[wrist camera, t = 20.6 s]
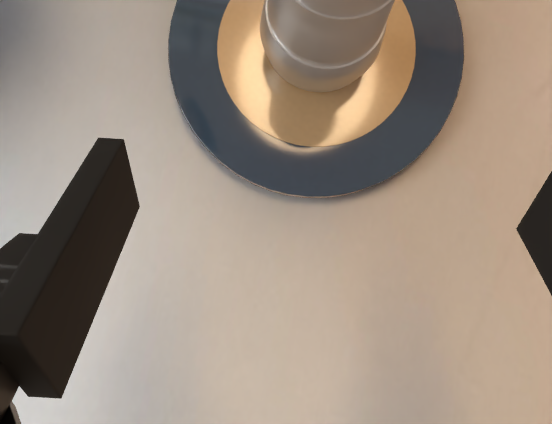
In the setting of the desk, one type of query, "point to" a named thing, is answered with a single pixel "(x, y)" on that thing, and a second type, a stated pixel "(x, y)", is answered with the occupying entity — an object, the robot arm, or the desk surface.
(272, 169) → the plate
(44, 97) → the desk surface
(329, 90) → the silver metal bottle
